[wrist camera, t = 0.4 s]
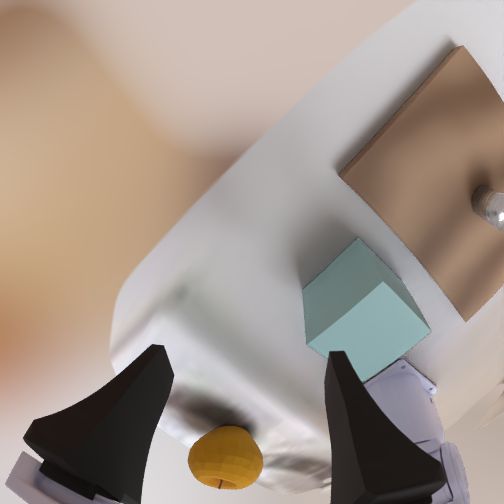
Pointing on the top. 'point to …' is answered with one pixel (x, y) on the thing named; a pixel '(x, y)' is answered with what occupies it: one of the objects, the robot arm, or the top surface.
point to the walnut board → (441, 179)
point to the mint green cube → (361, 312)
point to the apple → (226, 458)
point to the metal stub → (489, 205)
